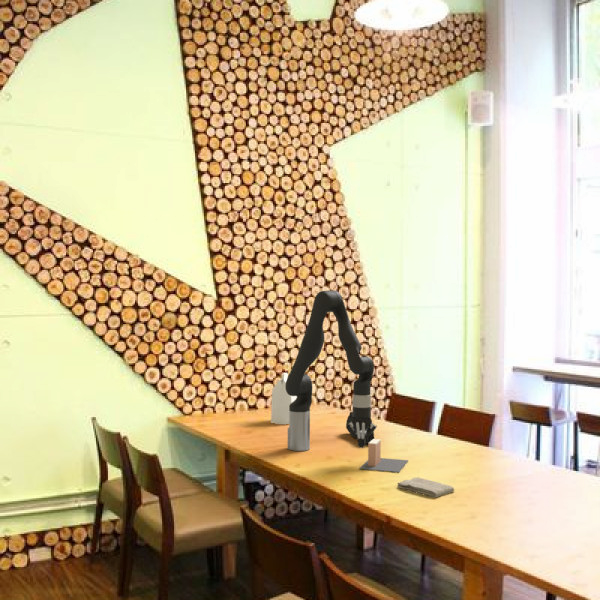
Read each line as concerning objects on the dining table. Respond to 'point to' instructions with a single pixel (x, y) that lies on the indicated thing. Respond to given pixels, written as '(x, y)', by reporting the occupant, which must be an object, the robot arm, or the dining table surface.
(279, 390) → the milk
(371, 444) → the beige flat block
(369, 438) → the magazine
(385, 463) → the mat
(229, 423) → the dining table surface
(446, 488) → the washcloth
